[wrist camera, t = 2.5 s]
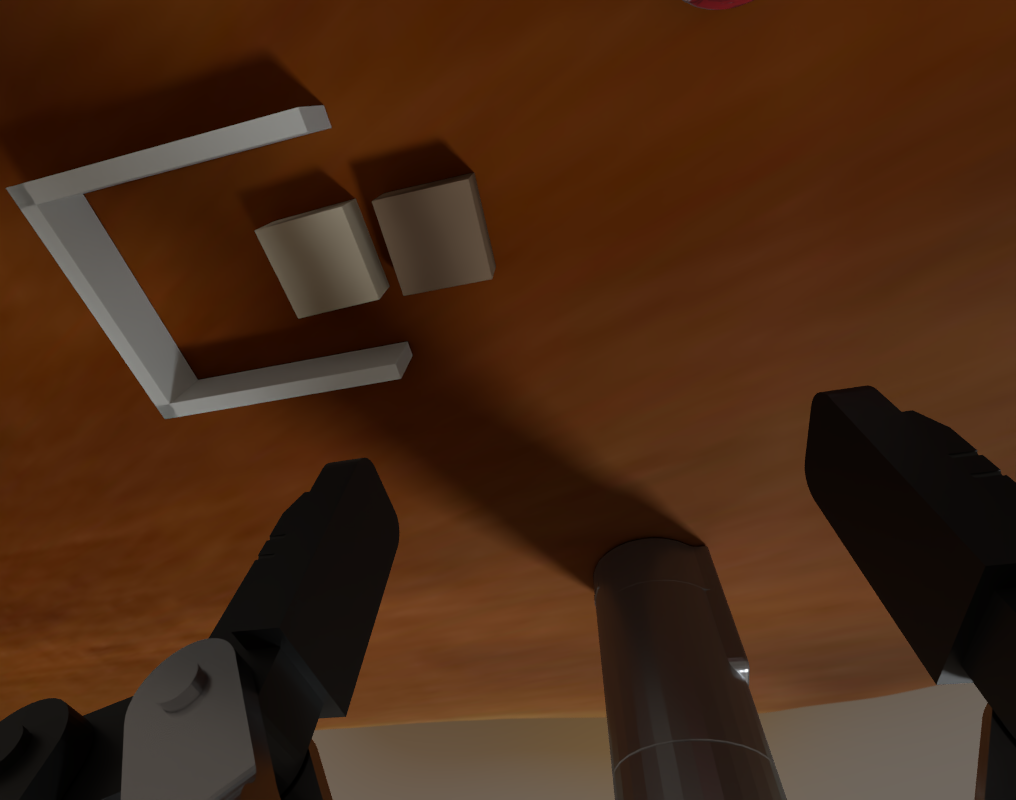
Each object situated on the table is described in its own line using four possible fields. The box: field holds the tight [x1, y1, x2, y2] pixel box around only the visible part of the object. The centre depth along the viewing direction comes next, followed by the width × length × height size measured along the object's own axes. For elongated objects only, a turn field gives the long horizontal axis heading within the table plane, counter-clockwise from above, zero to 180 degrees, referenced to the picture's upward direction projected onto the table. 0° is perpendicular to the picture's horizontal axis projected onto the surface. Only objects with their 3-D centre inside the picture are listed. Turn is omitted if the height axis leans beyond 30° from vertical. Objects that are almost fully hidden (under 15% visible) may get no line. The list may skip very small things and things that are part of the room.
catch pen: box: [6, 105, 413, 419], centre depth 28 cm, size 16×14×3 cm
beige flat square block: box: [372, 173, 496, 296], centre depth 27 cm, size 5×5×2 cm
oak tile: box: [255, 199, 390, 319], centre depth 28 cm, size 5×5×2 cm
